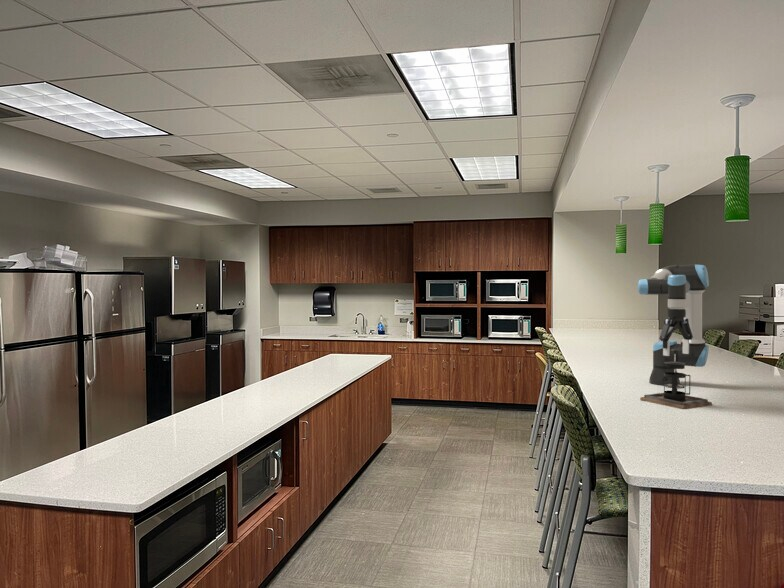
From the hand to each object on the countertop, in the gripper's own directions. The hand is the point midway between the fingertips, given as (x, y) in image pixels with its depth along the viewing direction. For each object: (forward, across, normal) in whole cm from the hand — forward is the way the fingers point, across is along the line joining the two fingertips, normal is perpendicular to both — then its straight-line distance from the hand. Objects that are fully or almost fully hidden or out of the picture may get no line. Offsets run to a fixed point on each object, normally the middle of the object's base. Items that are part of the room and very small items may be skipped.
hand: (676, 354), depth 265 cm
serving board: (+22, 0, 0) cm, 22 cm away
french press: (+21, 0, 0) cm, 21 cm away
